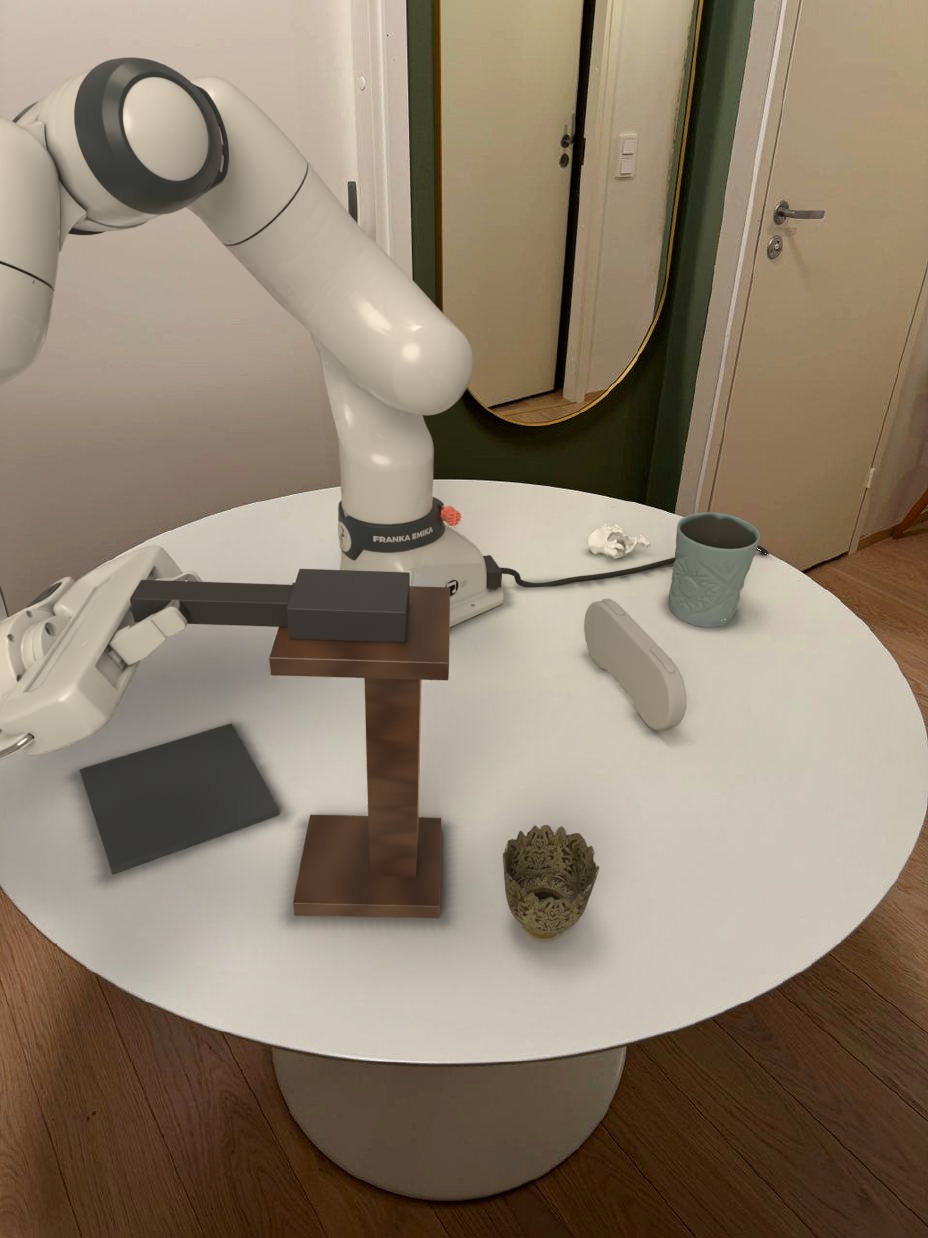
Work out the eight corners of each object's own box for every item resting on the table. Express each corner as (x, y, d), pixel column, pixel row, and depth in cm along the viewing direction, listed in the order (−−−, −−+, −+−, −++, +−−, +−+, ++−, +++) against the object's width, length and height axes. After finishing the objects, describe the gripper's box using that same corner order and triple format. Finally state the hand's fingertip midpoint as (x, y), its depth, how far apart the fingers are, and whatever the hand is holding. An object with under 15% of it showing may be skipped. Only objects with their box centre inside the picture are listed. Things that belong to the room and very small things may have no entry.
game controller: (681, 741, 93) (695, 678, 88) (662, 745, 92) (676, 682, 87) (596, 642, 108) (605, 584, 103) (580, 645, 107) (587, 587, 103)
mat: (232, 728, 91) (231, 723, 91) (279, 814, 81) (279, 808, 81) (81, 775, 85) (79, 769, 84) (112, 874, 75) (110, 868, 74)
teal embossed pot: (730, 593, 119) (749, 513, 113) (748, 634, 111) (770, 550, 104) (656, 589, 119) (671, 509, 113) (668, 630, 111) (685, 546, 104)
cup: (492, 891, 75) (498, 824, 71) (577, 887, 76) (587, 821, 71) (503, 967, 69) (510, 899, 64) (595, 962, 69) (608, 895, 65)
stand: (441, 829, 81) (450, 586, 67) (439, 918, 72) (449, 663, 58) (310, 826, 80) (292, 581, 66) (293, 915, 72) (268, 657, 58)
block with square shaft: (409, 601, 65) (409, 572, 63) (405, 643, 60) (405, 612, 59) (151, 592, 64) (146, 563, 63) (127, 634, 60) (121, 603, 58)
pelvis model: (613, 546, 122) (583, 523, 126) (608, 571, 124) (578, 548, 129) (655, 532, 125) (625, 511, 130) (649, 557, 128) (619, 535, 132)
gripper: (-63, 734, 54) (111, 648, 51) (61, 571, 72) (198, 499, 68) (9, 799, 57) (179, 722, 54) (112, 628, 75) (245, 562, 71)
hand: (190, 596), depth 61 cm, fingers closed on block with square shaft, 3 cm apart
